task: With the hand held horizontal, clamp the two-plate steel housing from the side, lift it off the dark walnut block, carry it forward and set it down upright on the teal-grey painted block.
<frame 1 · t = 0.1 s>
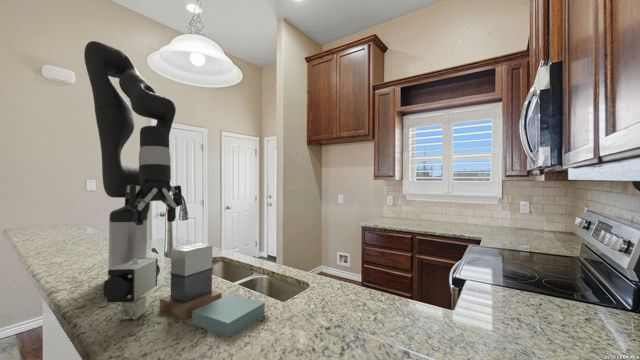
hand: (155, 223, 74), 17 cm above the counter, tool pointing down, fingers open, 8 cm apart
stand a: (191, 306, 61), on the counter
pneumatic valve: (131, 317, 57), on the counter
housing: (191, 295, 61), point 2 cm above the counter, touching stand a
stand b: (229, 319, 56), on the counter
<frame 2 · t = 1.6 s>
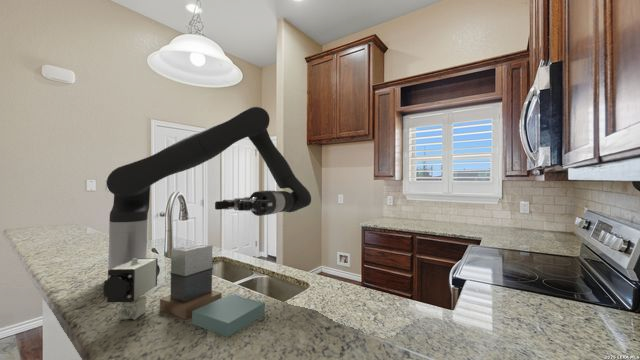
hand: (227, 206, 71), 22 cm above the counter, tool horizontal, fingers open, 8 cm apart
nothing on the counter moved.
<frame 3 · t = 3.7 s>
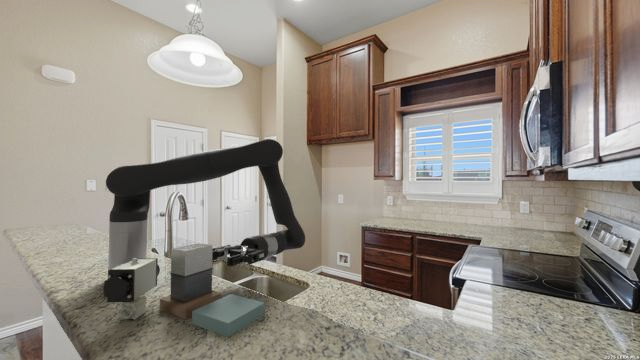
hand: (216, 260, 68), 9 cm above the counter, tool horizontal, fingers open, 8 cm apart
nothing on the counter moved.
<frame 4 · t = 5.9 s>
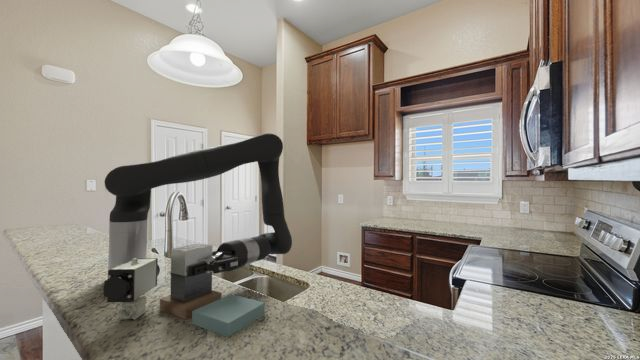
hand: (181, 269, 59), 9 cm above the counter, tool horizontal, fingers closed on housing, 5 cm apart
housing: (191, 295, 61), point 3 cm above the counter, touching gripper, stand a
everything else where it was.
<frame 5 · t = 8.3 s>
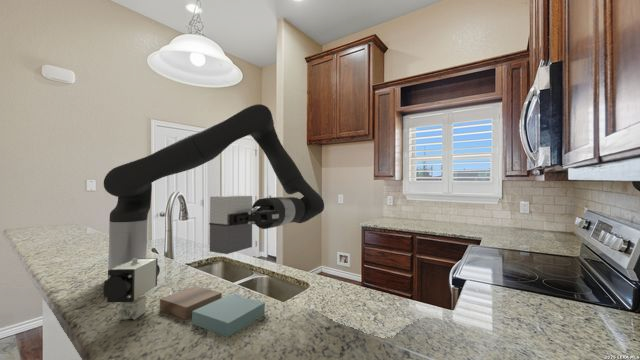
hand: (221, 219, 54), 21 cm above the counter, tool horizontal, fingers closed on housing, 5 cm apart
housing: (231, 249, 56), point 14 cm above the counter, touching gripper
everything else where it was.
when the fingers open (10 cm above the counter, at t = 10.8 s): housing stays where it is, resting on stand b.
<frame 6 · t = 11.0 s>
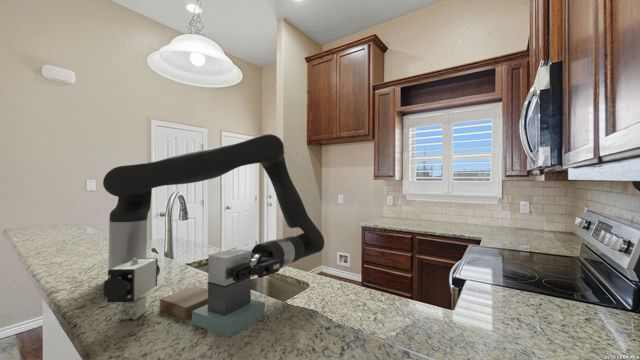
hand: (221, 273, 54), 10 cm above the counter, tool horizontal, fingers open, 6 cm apart
housing: (229, 306, 56), point 2 cm above the counter, touching stand b
everything else where it was.
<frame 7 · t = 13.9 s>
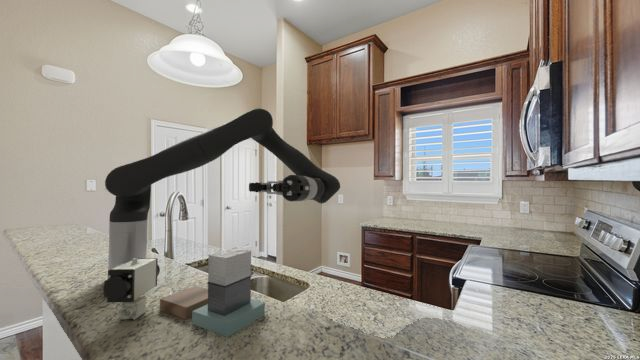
hand: (263, 187, 65), 27 cm above the counter, tool horizontal, fingers open, 8 cm apart
nothing on the counter moved.
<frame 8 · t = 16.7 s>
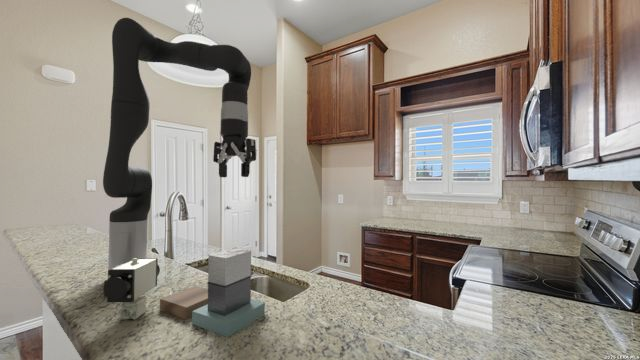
hand: (233, 177, 77), 30 cm above the counter, tool pointing down, fingers open, 8 cm apart
nothing on the counter moved.
at the end: housing inside the target area on the stand b (0.1 cm from its centre), point 2.5 cm above the stand b's base; housing tilted 0°; the gripper is holding nothing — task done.
